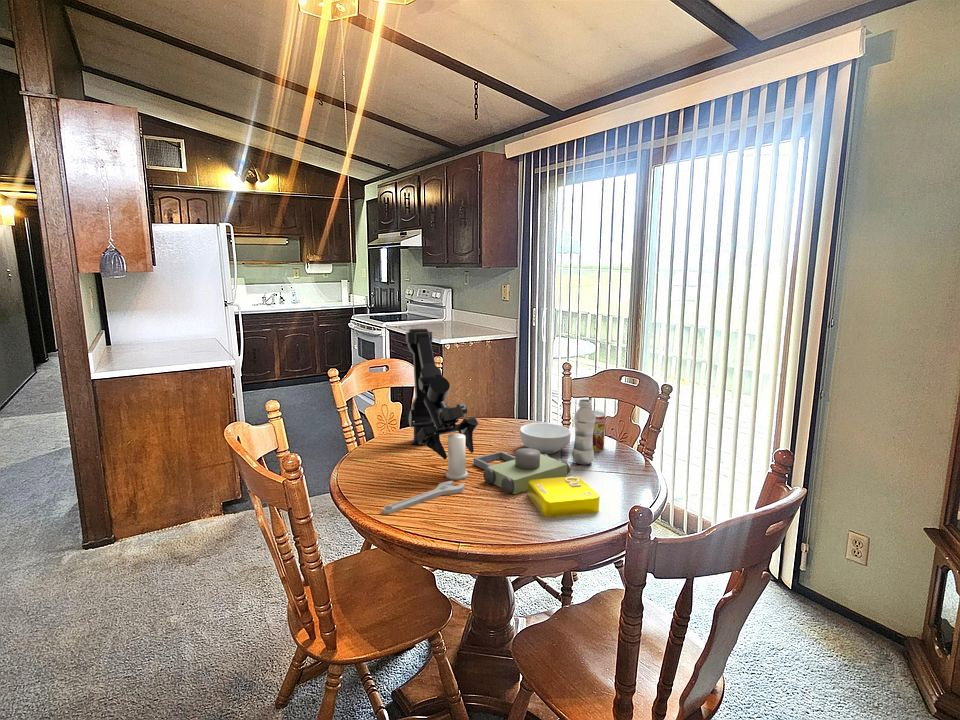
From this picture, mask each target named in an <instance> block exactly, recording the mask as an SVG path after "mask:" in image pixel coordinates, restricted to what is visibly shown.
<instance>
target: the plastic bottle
mask: <svg viewBox="0 0 960 720" xmlns="http://www.w3.org/2000/svg"><path fill="white" fill-rule="evenodd" d="M578 407H579V408H578V409H577V411H576V412H575V414H574V416H573V422H574V443H573V449H572V453H571V457H572V460H573V462H574V463H575V464H578V465H584V466H585V465H590V464H592V462H593V461H594V457H595V452H594V451H593V430H594V425H595V419H596V417H595V414H594V412H593V411H594V410H592V400H590V399H589V398H588V399H585V398H583V399H579V401H578Z"/></svg>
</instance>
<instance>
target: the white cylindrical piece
mask: <svg viewBox="0 0 960 720" xmlns="http://www.w3.org/2000/svg"><path fill="white" fill-rule="evenodd" d="M468 475H469V472H468V471H467V469H466V445H465V435H463V434H460V433H449V434H448V436H447V470H446V471H445V478H446V479H448V480H450V481H462V480H465V479H467V478H468V477H469V476H468Z"/></svg>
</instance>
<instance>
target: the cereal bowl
mask: <svg viewBox="0 0 960 720" xmlns="http://www.w3.org/2000/svg"><path fill="white" fill-rule="evenodd" d="M519 438H520V441H521V443H522V444H523V445H524V446H525V447H526V448H531V449H536V450H538V451H539V452H540V454H543V453H549V454H554V453H556V452H558V451H561V450H563V449H565V448H566V447H567V446H568V444H570V440H571V430H570V429H569V428H568V427H566V426H563V425H559V424H554V423H548V422H547V423H546V422H532V423H528V424H527V423H526V424H524V425H522V426H521V427H520V429H519ZM555 451H556V452H555ZM553 452H554V453H553Z"/></svg>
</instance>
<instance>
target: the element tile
mask: <svg viewBox="0 0 960 720" xmlns="http://www.w3.org/2000/svg"><path fill="white" fill-rule="evenodd" d="M527 497H528V498H529V499H530V500H531V502H532V503H533V505H534V506H535V507H536V509H537V510H538V511H539V513H540V514H541V515H542V516H544V517H547V518H556V517H557V518H559V517H567V516H577V515H586V514H587V515H588V514H595V513H598V512H599V511H600V495H599V493H597V492H596V491H595V490H594V489H593V487H591V486H590V485H589V484H588V483H586V482H585V480H583V479H582V478H581V477H580V476H577V475H571V476H567V477H557V478H545V479H533V480H530V481H529V482H528V490H527ZM558 516H559V517H558Z"/></svg>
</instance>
